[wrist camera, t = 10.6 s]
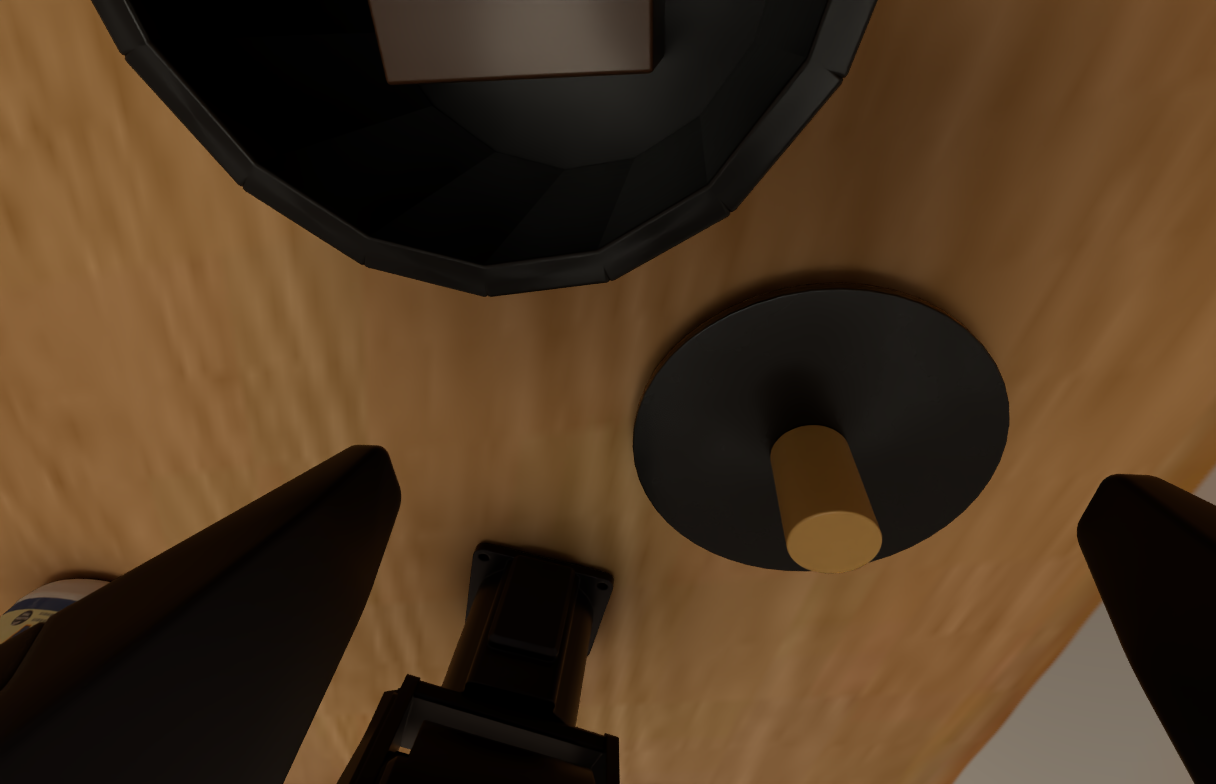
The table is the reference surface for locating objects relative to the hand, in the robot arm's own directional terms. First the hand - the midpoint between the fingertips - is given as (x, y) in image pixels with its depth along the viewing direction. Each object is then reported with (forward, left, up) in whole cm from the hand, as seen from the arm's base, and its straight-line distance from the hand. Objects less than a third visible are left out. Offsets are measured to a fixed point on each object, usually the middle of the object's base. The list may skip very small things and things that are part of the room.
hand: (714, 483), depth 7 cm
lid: (-6, -6, -10) cm, 14 cm away
